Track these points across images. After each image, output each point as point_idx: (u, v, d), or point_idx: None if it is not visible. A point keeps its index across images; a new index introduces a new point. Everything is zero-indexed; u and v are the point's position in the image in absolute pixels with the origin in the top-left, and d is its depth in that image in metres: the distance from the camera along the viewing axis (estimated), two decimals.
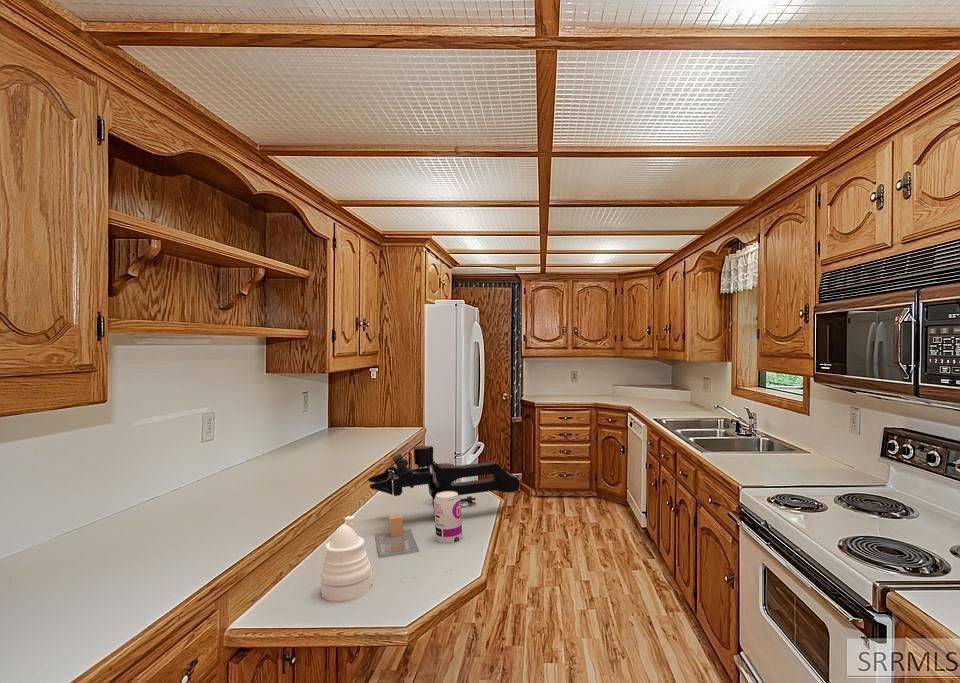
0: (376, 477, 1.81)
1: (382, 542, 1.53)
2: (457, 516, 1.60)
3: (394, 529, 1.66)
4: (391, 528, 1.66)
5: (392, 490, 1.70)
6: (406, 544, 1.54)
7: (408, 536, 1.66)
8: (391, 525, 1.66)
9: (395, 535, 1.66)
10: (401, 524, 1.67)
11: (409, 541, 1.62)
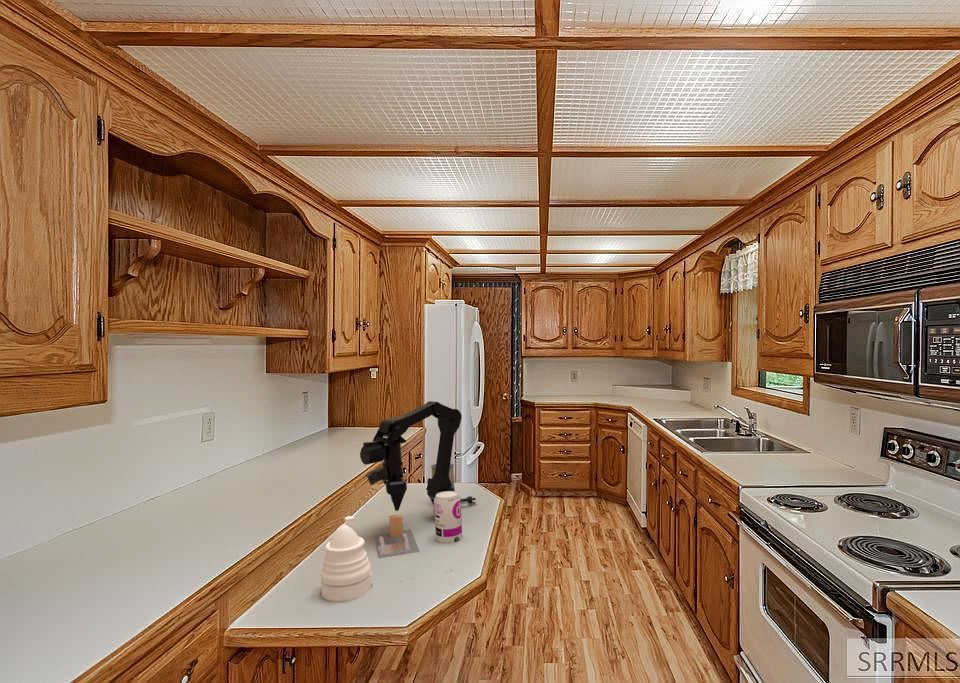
0: None
1: (382, 542, 1.53)
2: (457, 516, 1.60)
3: (394, 529, 1.66)
4: (391, 528, 1.66)
5: None
6: (406, 544, 1.54)
7: (408, 536, 1.66)
8: (391, 525, 1.66)
9: (395, 535, 1.66)
10: (401, 524, 1.67)
11: (409, 541, 1.62)
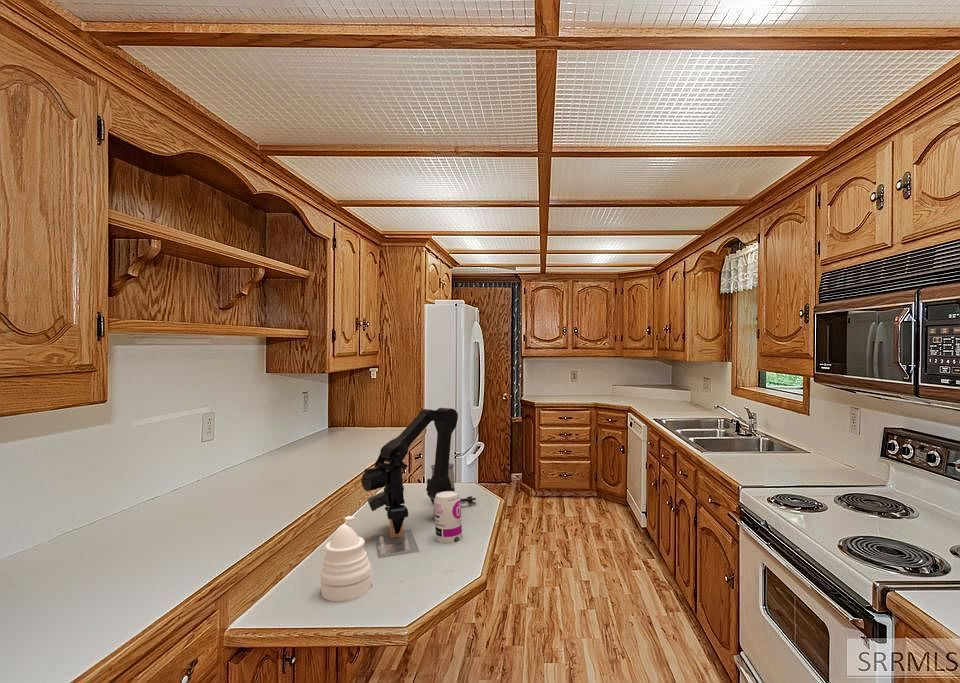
0: None
1: (382, 542, 1.53)
2: (457, 516, 1.60)
3: None
4: (391, 528, 1.66)
5: None
6: (406, 544, 1.54)
7: (408, 536, 1.66)
8: (391, 525, 1.66)
9: (395, 535, 1.66)
10: None
11: (409, 541, 1.62)
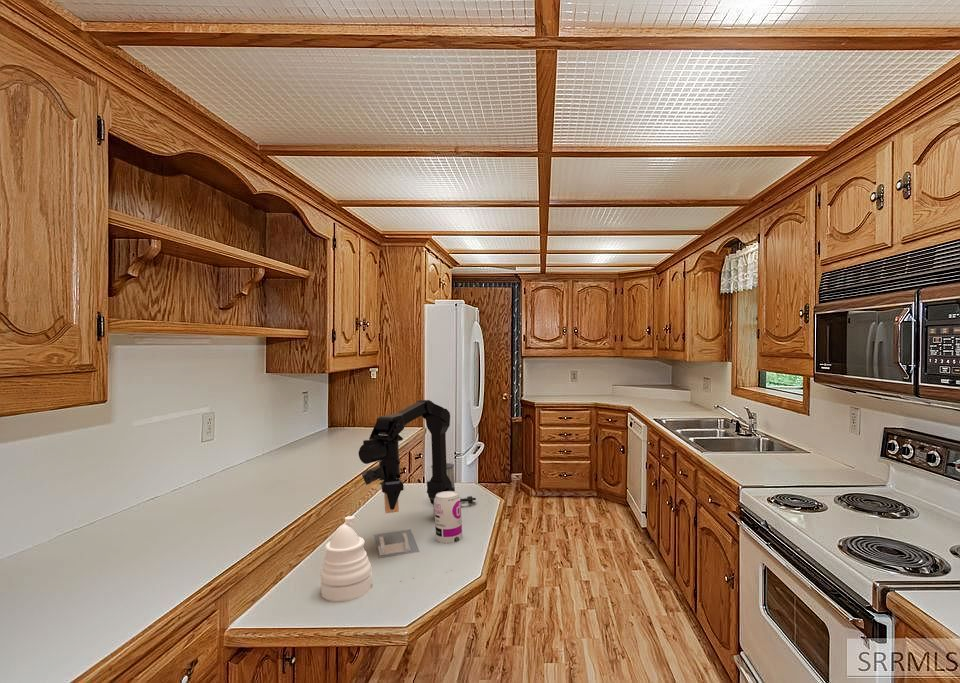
0: None
1: (382, 542, 1.53)
2: (457, 516, 1.60)
3: (388, 504, 1.58)
4: (386, 503, 1.58)
5: None
6: (406, 544, 1.54)
7: (408, 536, 1.66)
8: (386, 500, 1.58)
9: (390, 511, 1.58)
10: None
11: (409, 541, 1.62)
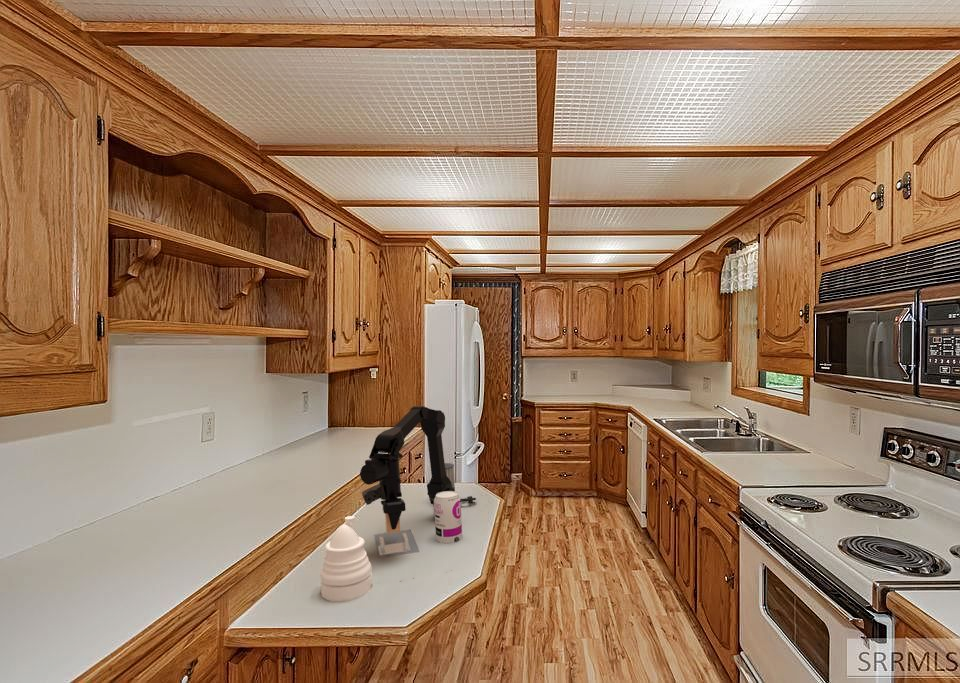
0: None
1: (382, 542, 1.53)
2: (457, 516, 1.60)
3: (390, 524, 1.54)
4: (387, 523, 1.54)
5: None
6: (406, 544, 1.54)
7: (408, 536, 1.66)
8: (387, 520, 1.54)
9: (391, 531, 1.54)
10: None
11: (409, 541, 1.62)
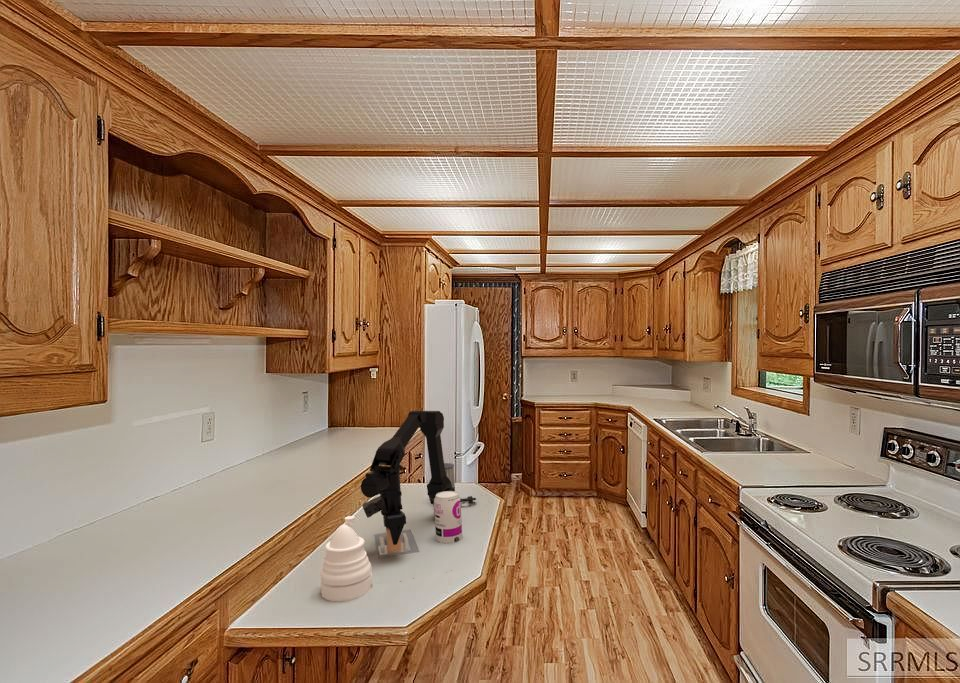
0: None
1: (382, 542, 1.53)
2: (457, 516, 1.60)
3: (391, 542, 1.54)
4: (388, 540, 1.54)
5: None
6: (406, 544, 1.54)
7: (408, 536, 1.66)
8: (388, 538, 1.54)
9: (392, 548, 1.54)
10: None
11: (409, 541, 1.62)
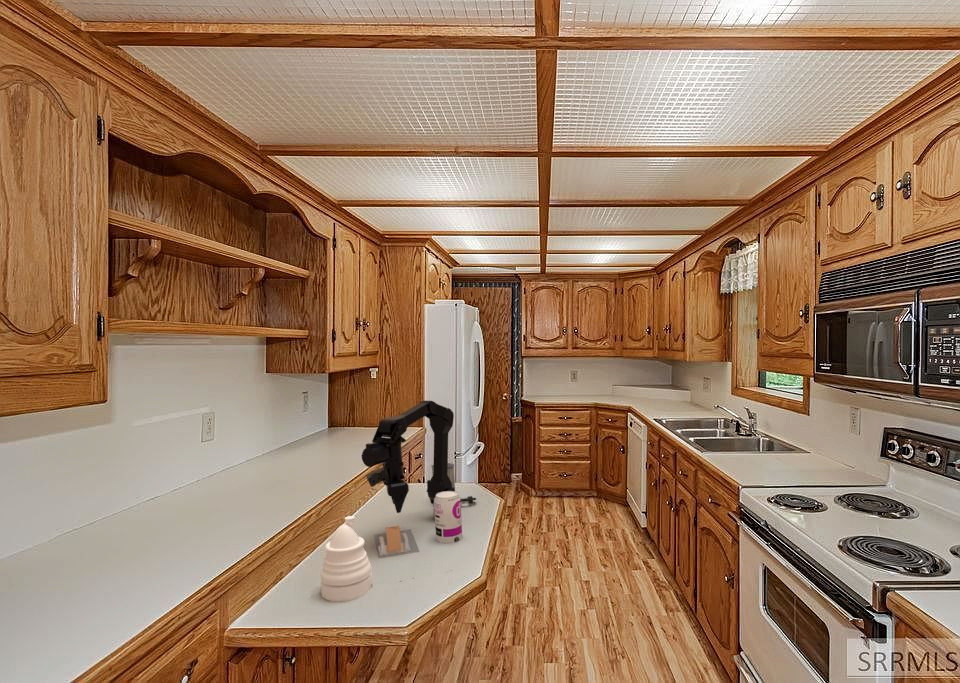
0: None
1: (382, 542, 1.53)
2: (457, 516, 1.60)
3: (391, 542, 1.54)
4: (388, 540, 1.54)
5: None
6: (406, 544, 1.54)
7: (408, 536, 1.66)
8: (388, 538, 1.54)
9: (392, 548, 1.54)
10: (399, 536, 1.55)
11: (409, 541, 1.62)
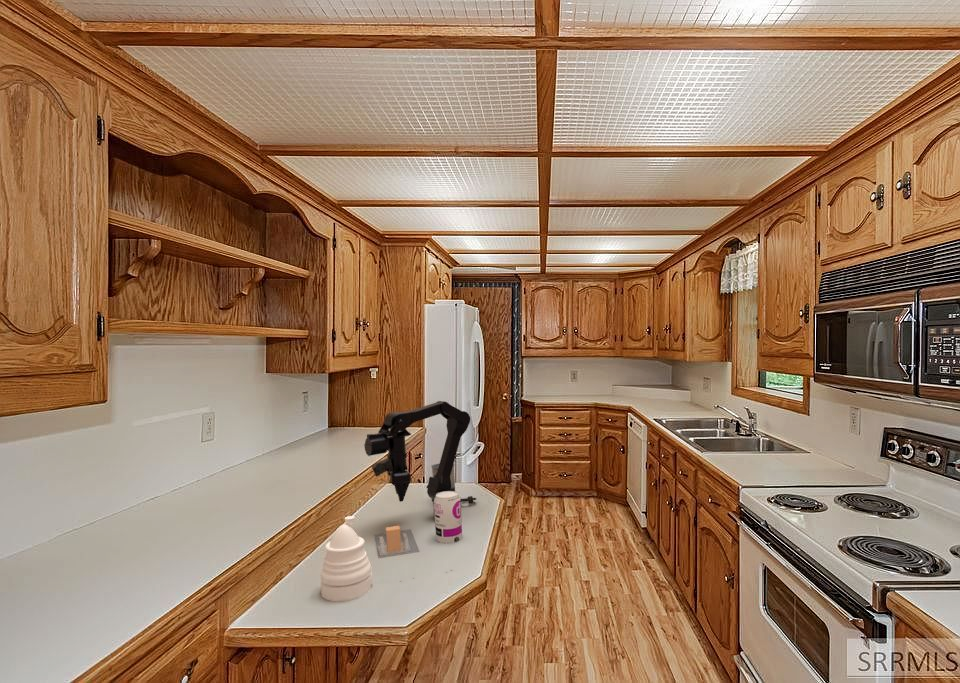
0: None
1: (382, 542, 1.53)
2: (457, 516, 1.60)
3: (391, 542, 1.54)
4: (388, 540, 1.54)
5: (405, 482, 1.65)
6: (406, 544, 1.54)
7: (408, 536, 1.66)
8: (388, 538, 1.54)
9: (392, 548, 1.54)
10: (399, 536, 1.55)
11: (409, 541, 1.62)
